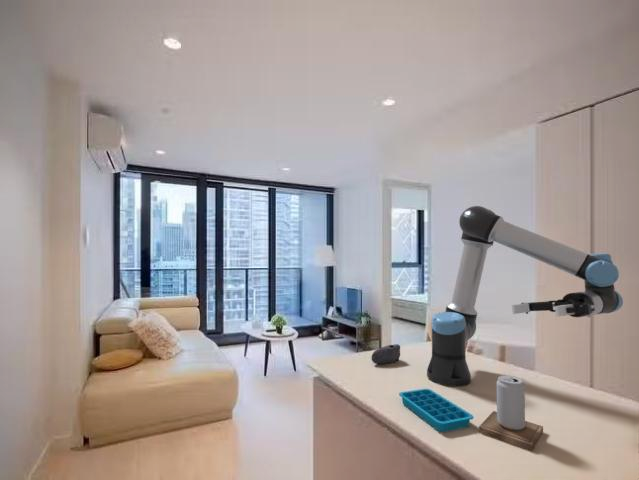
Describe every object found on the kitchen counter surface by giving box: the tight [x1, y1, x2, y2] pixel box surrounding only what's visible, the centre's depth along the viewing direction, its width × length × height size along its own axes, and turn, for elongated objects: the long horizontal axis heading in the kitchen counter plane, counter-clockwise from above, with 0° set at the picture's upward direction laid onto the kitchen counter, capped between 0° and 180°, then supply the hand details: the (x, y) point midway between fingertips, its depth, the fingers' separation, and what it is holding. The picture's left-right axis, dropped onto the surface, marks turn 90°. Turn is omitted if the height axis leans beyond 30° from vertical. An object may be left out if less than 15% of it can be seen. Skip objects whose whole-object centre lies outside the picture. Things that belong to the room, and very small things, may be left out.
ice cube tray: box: [398, 388, 475, 433], centre depth 99 cm, size 12×20×3 cm, turn 19°
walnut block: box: [478, 410, 544, 452], centre depth 89 cm, size 12×12×2 cm
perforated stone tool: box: [371, 343, 401, 365], centre depth 143 cm, size 15×5×7 cm, turn 116°
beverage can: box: [496, 375, 526, 430], centre depth 89 cm, size 6×6×12 cm
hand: (533, 310), depth 100 cm, fingers open, 13 cm apart
